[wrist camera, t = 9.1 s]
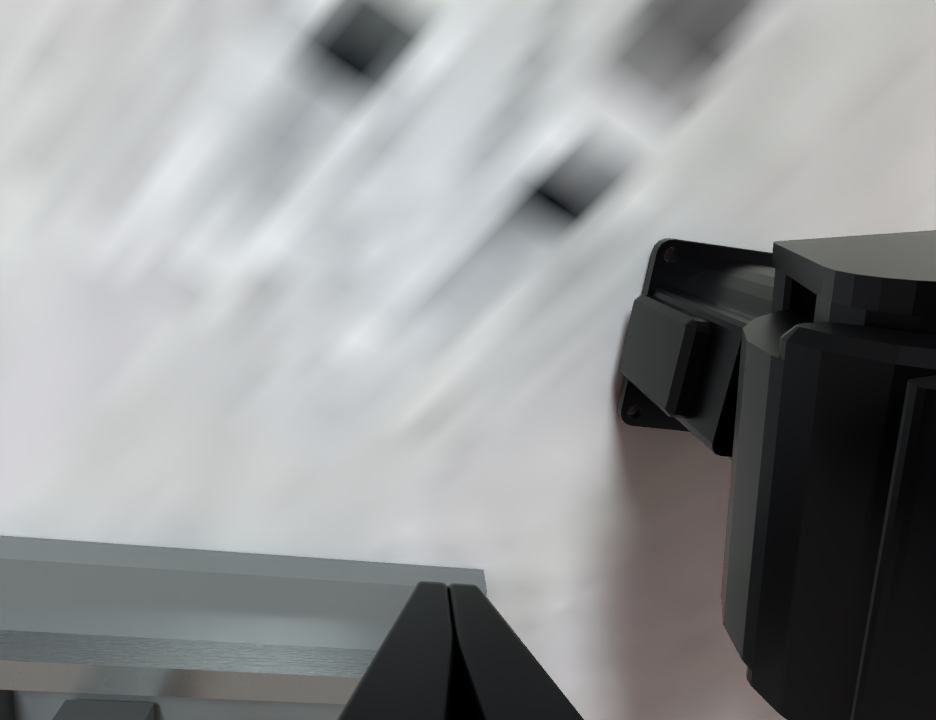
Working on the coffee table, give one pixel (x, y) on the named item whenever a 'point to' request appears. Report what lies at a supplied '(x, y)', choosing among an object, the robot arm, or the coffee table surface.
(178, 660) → the panel
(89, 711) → the handle
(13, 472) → the coffee table surface
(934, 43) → the coffee table surface
